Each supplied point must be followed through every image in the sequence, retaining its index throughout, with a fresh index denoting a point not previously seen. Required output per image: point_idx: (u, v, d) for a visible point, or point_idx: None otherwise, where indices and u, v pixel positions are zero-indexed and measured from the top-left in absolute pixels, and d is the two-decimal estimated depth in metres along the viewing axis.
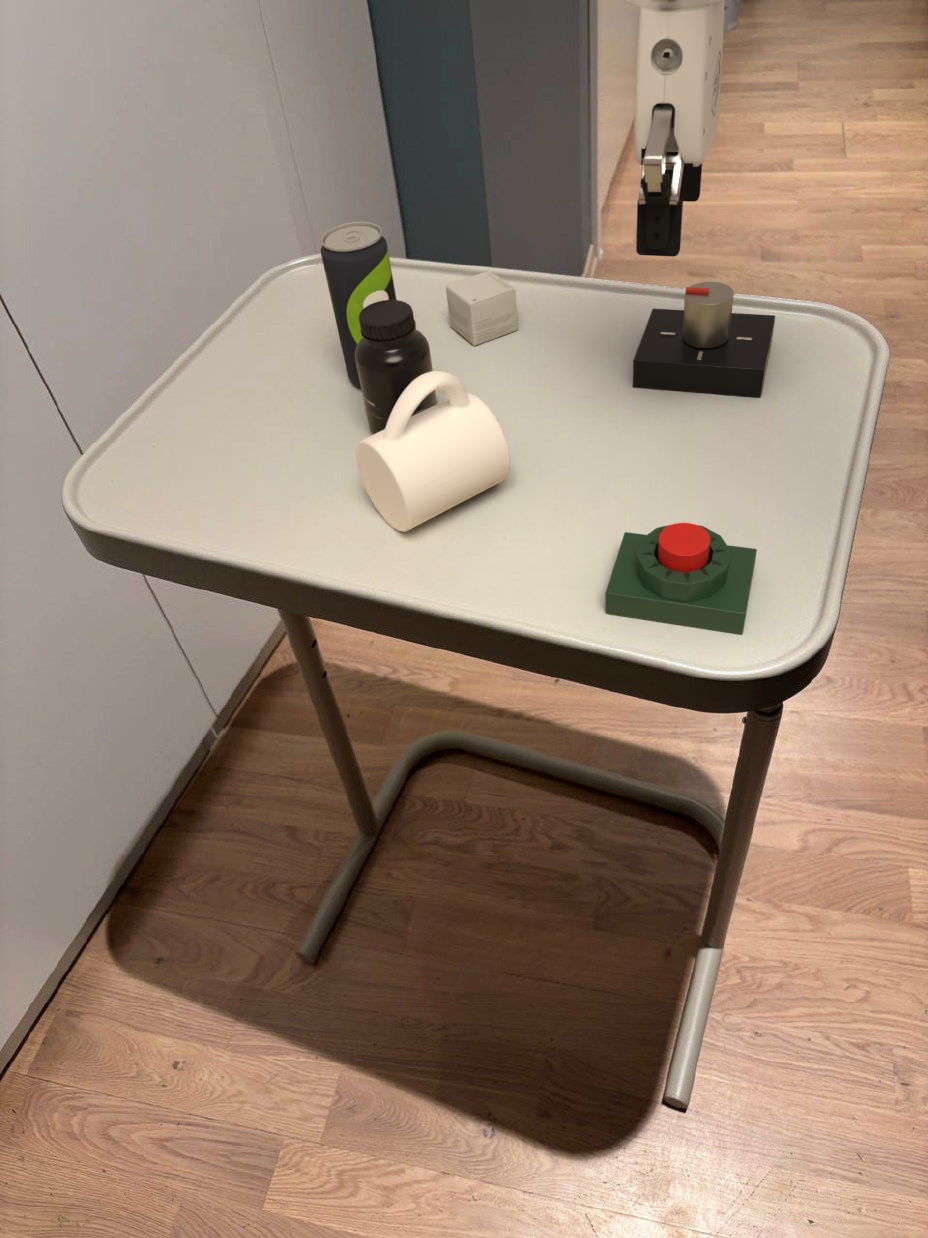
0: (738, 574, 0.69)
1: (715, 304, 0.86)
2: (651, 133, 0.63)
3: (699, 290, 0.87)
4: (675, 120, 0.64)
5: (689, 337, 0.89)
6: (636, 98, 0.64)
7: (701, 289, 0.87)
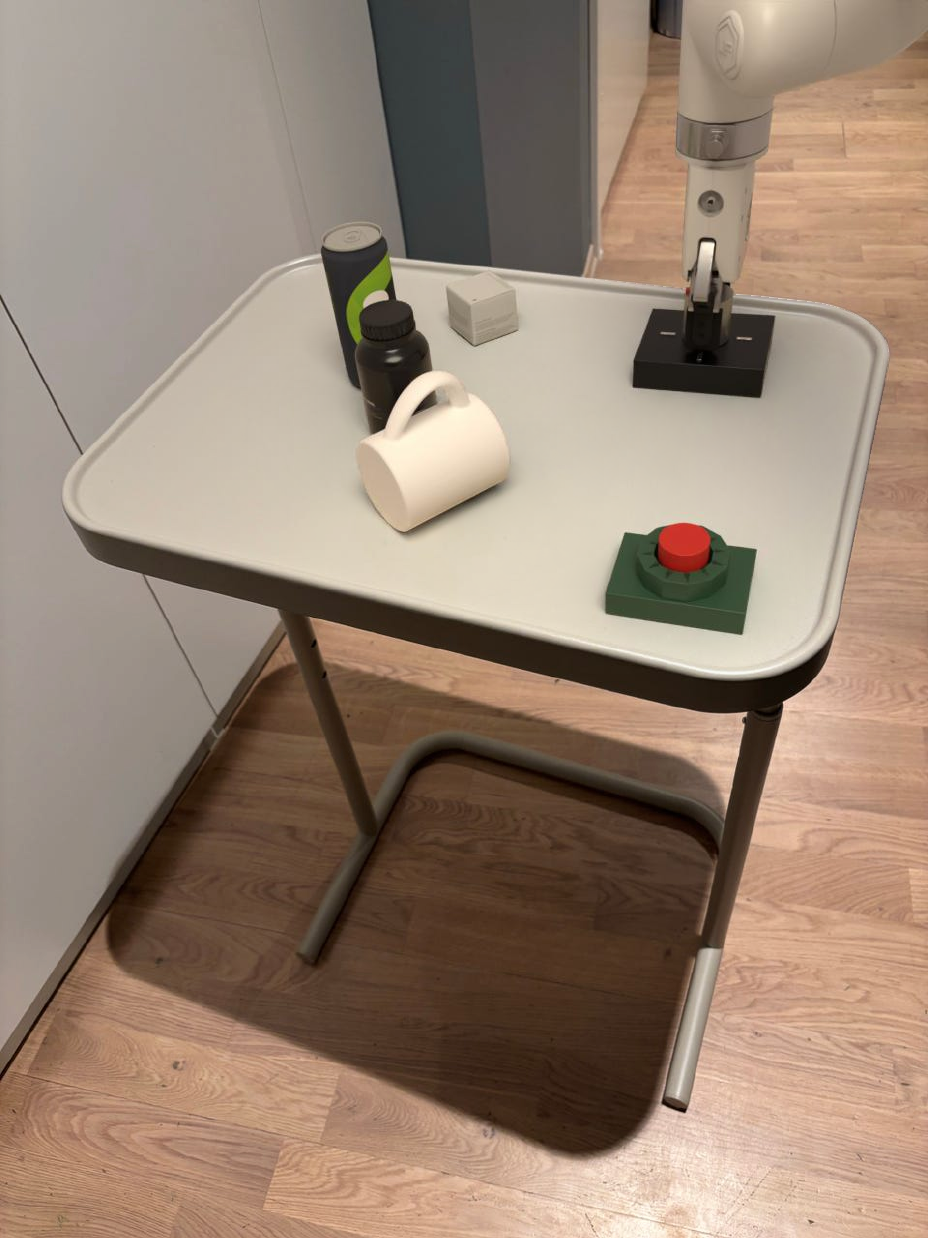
0: (738, 574, 0.69)
1: None
2: (697, 273, 0.80)
3: None
4: (716, 250, 0.79)
5: None
6: (685, 232, 0.79)
7: None
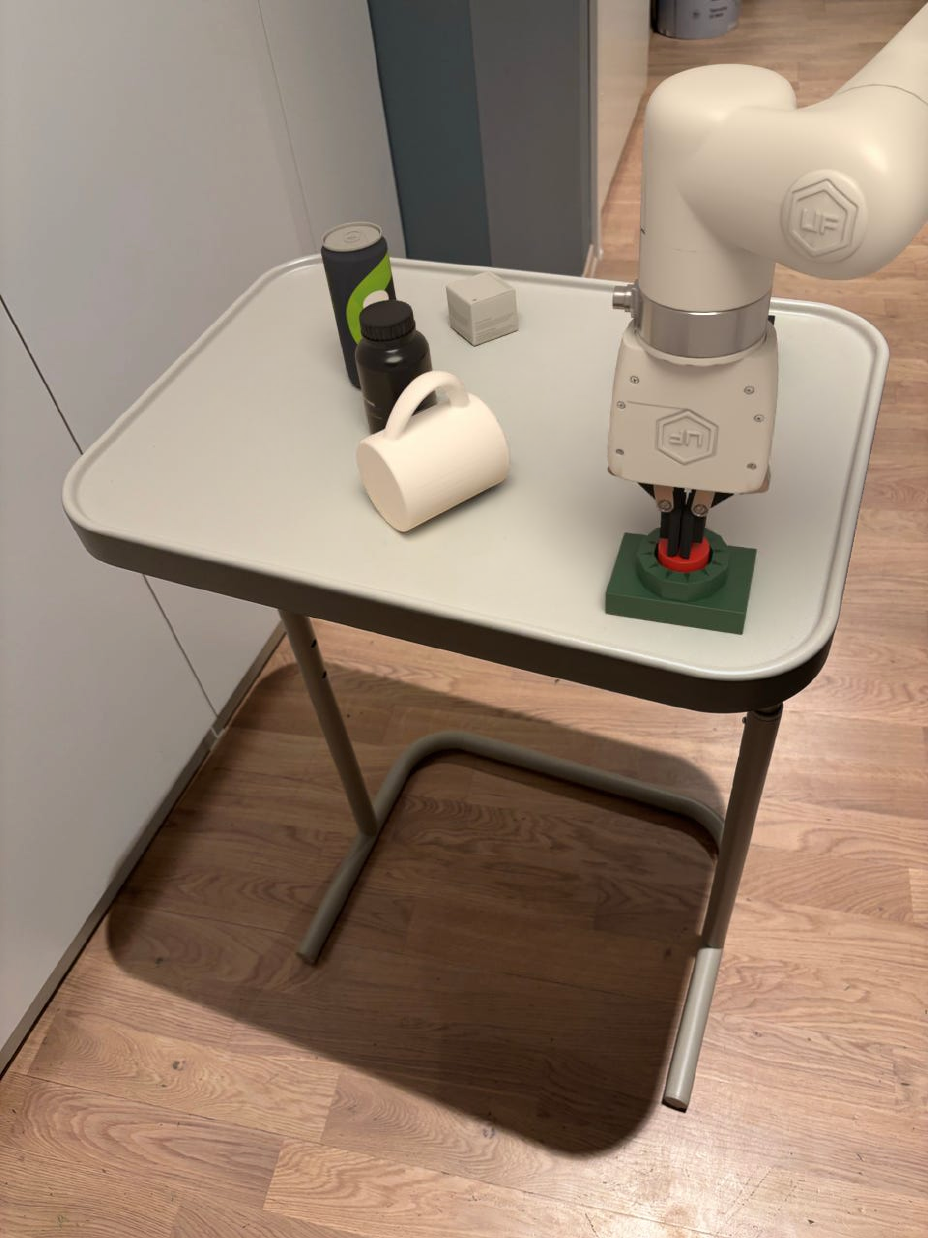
0: (738, 574, 0.69)
1: None
2: None
3: None
4: None
5: None
6: None
7: None
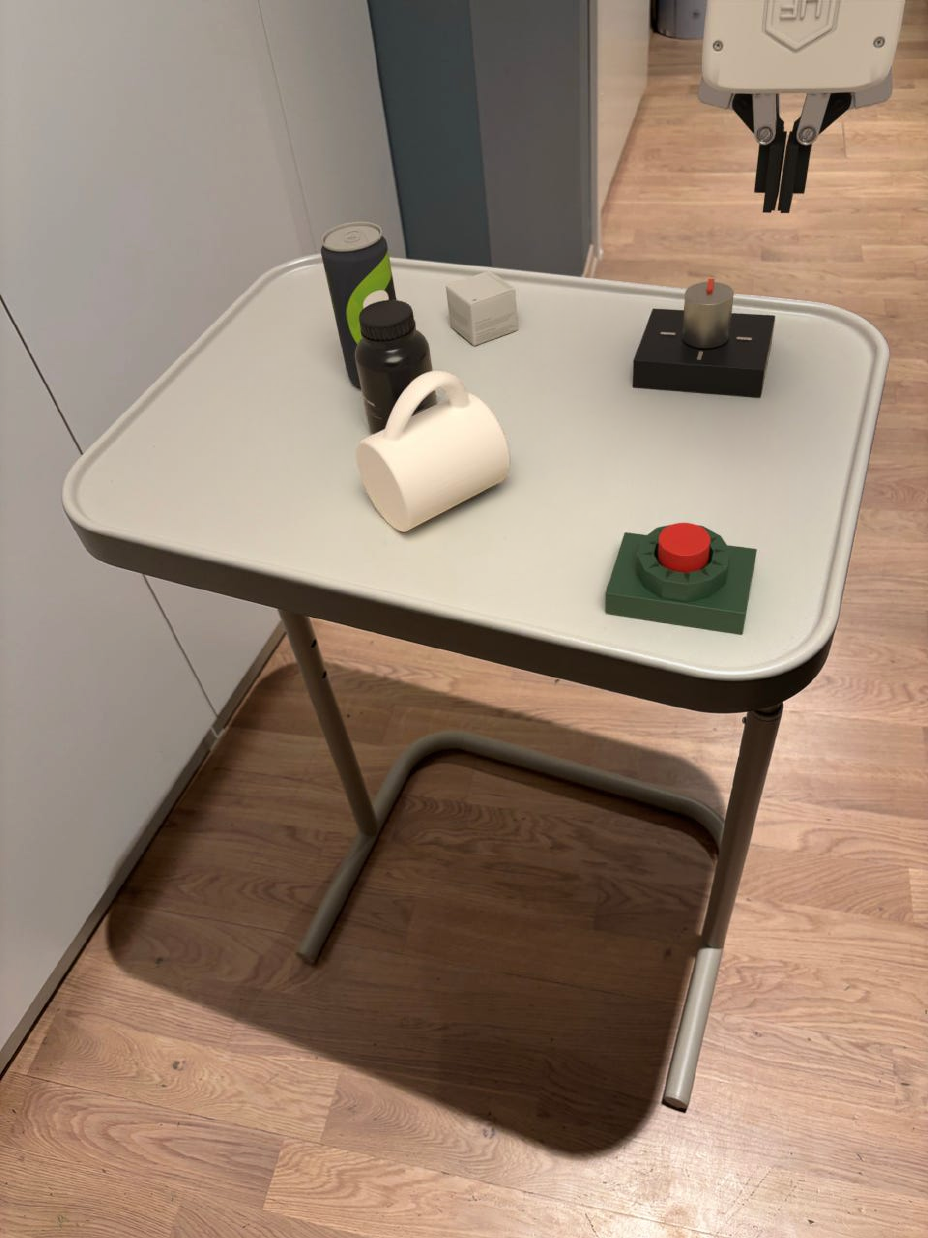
0: (738, 574, 0.69)
1: (685, 297, 0.87)
2: None
3: (707, 285, 0.88)
4: None
5: None
6: None
7: (709, 285, 0.87)
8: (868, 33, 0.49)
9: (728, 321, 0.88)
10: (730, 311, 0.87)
